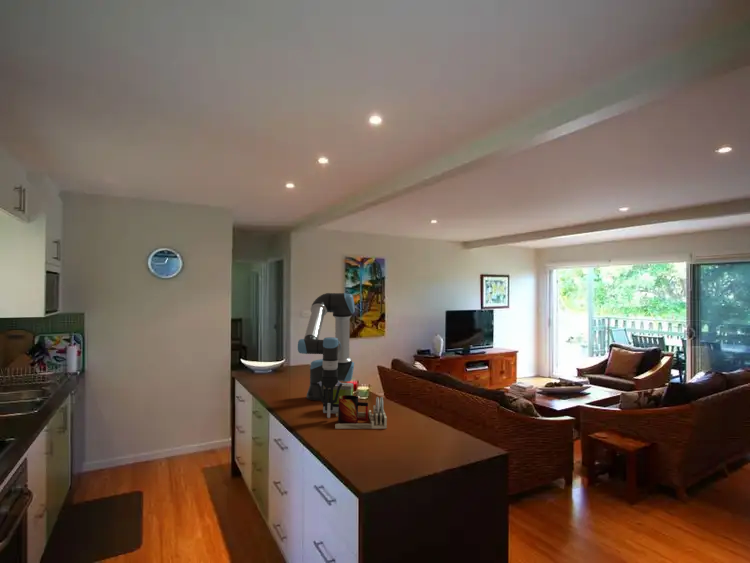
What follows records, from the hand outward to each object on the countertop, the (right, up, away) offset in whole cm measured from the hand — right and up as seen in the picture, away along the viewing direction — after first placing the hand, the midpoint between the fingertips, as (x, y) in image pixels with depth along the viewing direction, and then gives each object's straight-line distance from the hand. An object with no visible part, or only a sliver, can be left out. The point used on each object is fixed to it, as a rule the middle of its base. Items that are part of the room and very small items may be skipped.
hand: (328, 416), depth 208 cm
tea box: (+3, -3, +18) cm, 19 cm away
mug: (+12, -2, -1) cm, 12 cm away
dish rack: (+16, -2, -1) cm, 16 cm away
